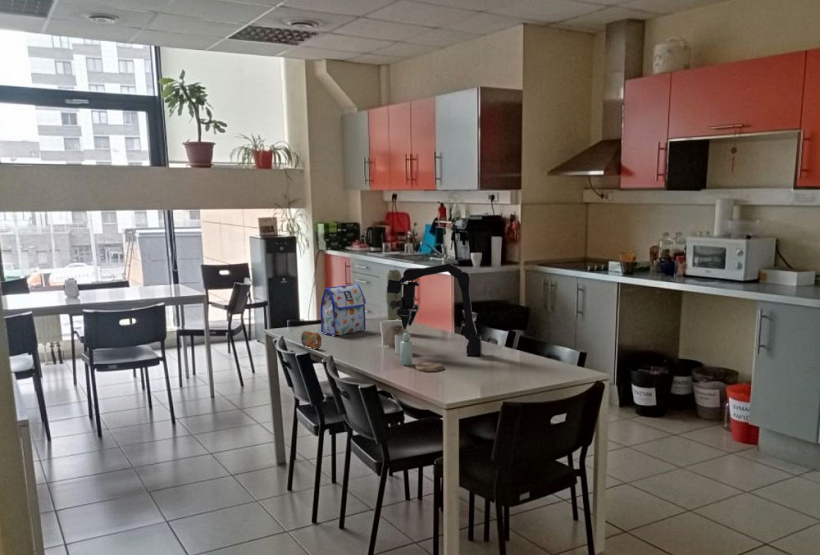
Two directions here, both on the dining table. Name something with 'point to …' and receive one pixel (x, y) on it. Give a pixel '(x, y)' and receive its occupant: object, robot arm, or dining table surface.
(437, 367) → the tan flat disc
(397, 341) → the cup
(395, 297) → the thermos
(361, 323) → the lunch bag
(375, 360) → the dining table surface
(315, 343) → the tin
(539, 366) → the dining table surface
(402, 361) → the ceramic bottle
